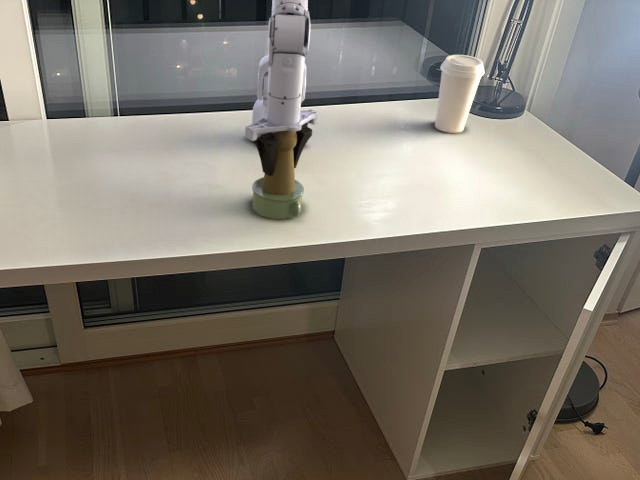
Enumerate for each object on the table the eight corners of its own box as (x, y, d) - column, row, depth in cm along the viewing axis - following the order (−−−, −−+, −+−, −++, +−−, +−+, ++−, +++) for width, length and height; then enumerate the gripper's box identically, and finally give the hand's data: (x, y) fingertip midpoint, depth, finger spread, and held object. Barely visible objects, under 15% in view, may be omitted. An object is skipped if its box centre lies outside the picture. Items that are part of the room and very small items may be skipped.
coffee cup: (423, 119, 166) (436, 53, 157) (462, 119, 167) (477, 53, 158) (435, 135, 159) (450, 67, 149) (475, 135, 160) (493, 67, 150)
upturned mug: (241, 203, 131) (241, 183, 128) (280, 190, 135) (281, 171, 133) (276, 227, 125) (278, 207, 122) (316, 213, 129) (318, 193, 127)
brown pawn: (292, 197, 125) (297, 137, 118) (259, 192, 126) (262, 133, 119) (297, 182, 130) (302, 123, 122) (265, 177, 130) (268, 119, 123)
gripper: (265, 109, 111) (261, 188, 120) (333, 92, 118) (324, 168, 127) (238, 95, 115) (236, 173, 124) (305, 80, 122) (299, 154, 131)
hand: (279, 169), depth 126 cm, fingers closed on brown pawn, 5 cm apart
